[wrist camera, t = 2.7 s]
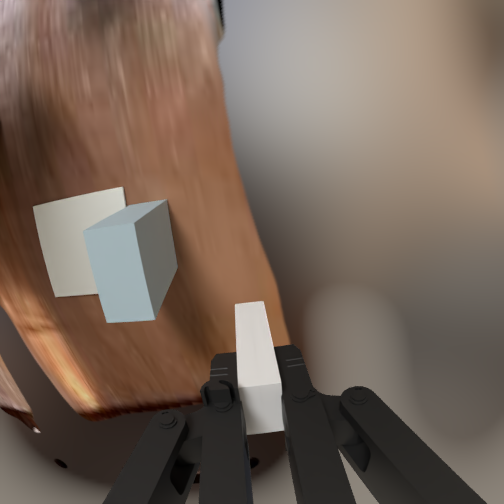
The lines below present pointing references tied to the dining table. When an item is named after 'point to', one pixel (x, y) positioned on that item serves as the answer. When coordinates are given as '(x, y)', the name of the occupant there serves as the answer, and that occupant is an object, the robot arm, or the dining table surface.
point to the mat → (73, 237)
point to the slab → (132, 261)
